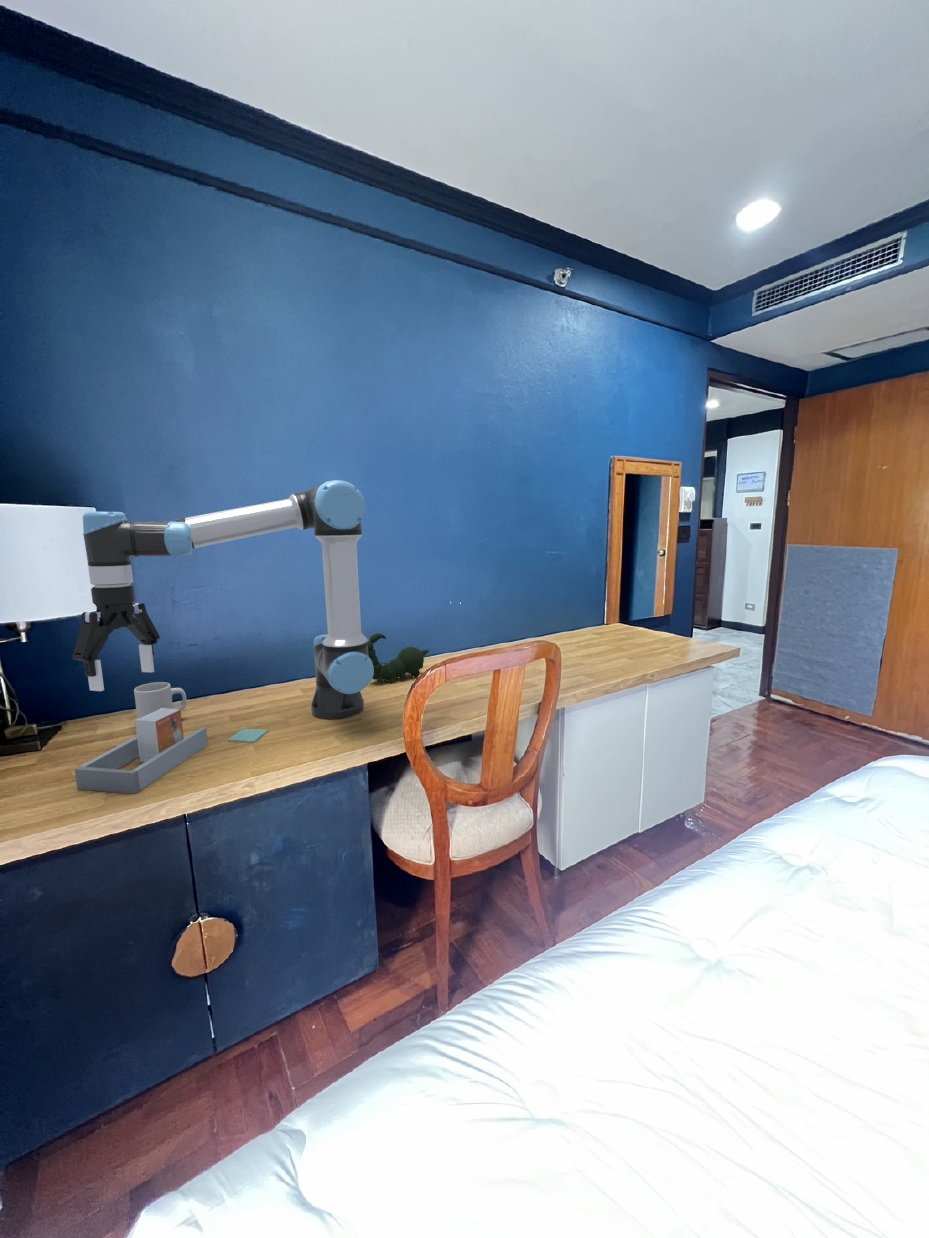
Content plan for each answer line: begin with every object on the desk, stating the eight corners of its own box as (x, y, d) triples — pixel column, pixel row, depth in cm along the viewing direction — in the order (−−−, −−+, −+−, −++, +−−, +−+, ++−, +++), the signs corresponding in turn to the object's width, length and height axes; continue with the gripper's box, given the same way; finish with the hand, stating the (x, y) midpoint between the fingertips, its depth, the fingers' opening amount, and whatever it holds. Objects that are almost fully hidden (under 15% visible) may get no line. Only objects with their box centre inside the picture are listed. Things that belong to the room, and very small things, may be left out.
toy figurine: (374, 693, 166) (437, 674, 180) (367, 639, 162) (432, 624, 175) (363, 686, 174) (424, 668, 187) (356, 634, 170) (419, 620, 183)
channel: (207, 744, 124) (206, 727, 123) (135, 793, 102) (133, 773, 101) (159, 741, 126) (157, 724, 125) (77, 789, 103) (74, 769, 102)
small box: (160, 764, 114) (154, 721, 112) (139, 762, 115) (133, 719, 113) (186, 749, 121) (181, 708, 119) (166, 747, 123) (161, 707, 121)
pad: (268, 731, 132) (267, 730, 132) (253, 742, 125) (253, 741, 125) (243, 730, 133) (243, 728, 133) (228, 741, 126) (227, 739, 126)
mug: (140, 733, 131) (135, 694, 128) (136, 723, 137) (131, 686, 135) (191, 722, 138) (187, 684, 136) (185, 713, 144) (181, 677, 142)
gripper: (143, 578, 119) (152, 664, 123) (39, 592, 95) (55, 698, 98) (171, 579, 118) (179, 666, 121) (73, 593, 93) (88, 700, 97)
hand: (124, 680), depth 110 cm, fingers open, 13 cm apart
